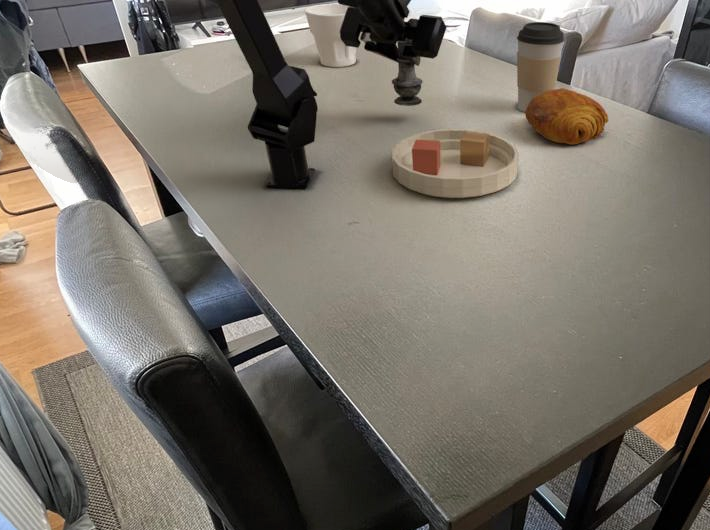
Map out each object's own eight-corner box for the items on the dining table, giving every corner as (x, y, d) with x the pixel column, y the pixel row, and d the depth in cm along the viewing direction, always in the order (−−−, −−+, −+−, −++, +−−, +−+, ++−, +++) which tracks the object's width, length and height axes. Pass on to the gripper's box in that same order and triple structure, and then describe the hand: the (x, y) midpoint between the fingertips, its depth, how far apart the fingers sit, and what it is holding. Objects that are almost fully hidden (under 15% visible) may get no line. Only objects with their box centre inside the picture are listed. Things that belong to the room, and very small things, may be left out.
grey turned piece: (411, 108, 109) (408, 34, 101) (386, 102, 111) (381, 30, 103) (429, 100, 113) (427, 29, 105) (404, 95, 115) (401, 24, 107)
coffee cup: (505, 110, 118) (510, 25, 108) (522, 98, 124) (529, 16, 114) (546, 118, 115) (555, 31, 105) (562, 105, 121) (573, 21, 111)
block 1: (437, 175, 94) (437, 150, 91) (413, 173, 94) (411, 148, 91) (440, 165, 97) (440, 140, 94) (416, 163, 97) (415, 139, 94)
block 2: (483, 166, 96) (484, 142, 94) (460, 164, 97) (460, 139, 94) (488, 157, 99) (489, 133, 96) (466, 155, 100) (466, 131, 97)
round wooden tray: (519, 202, 88) (521, 180, 86) (385, 199, 89) (383, 177, 86) (514, 150, 103) (516, 130, 101) (399, 148, 103) (398, 127, 101)
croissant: (542, 161, 105) (548, 117, 99) (515, 119, 114) (519, 77, 108) (615, 151, 108) (626, 108, 101) (583, 111, 117) (591, 69, 111)
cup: (306, 58, 144) (298, 6, 137) (355, 53, 148) (350, 2, 141) (319, 72, 136) (311, 17, 129) (370, 66, 140) (366, 12, 132)
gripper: (441, -43, 91) (468, 26, 106) (340, -51, 97) (380, 15, 111) (418, 25, 91) (449, 84, 106) (319, 12, 96) (361, 70, 111)
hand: (409, 62), depth 109 cm, fingers closed on grey turned piece, 3 cm apart
